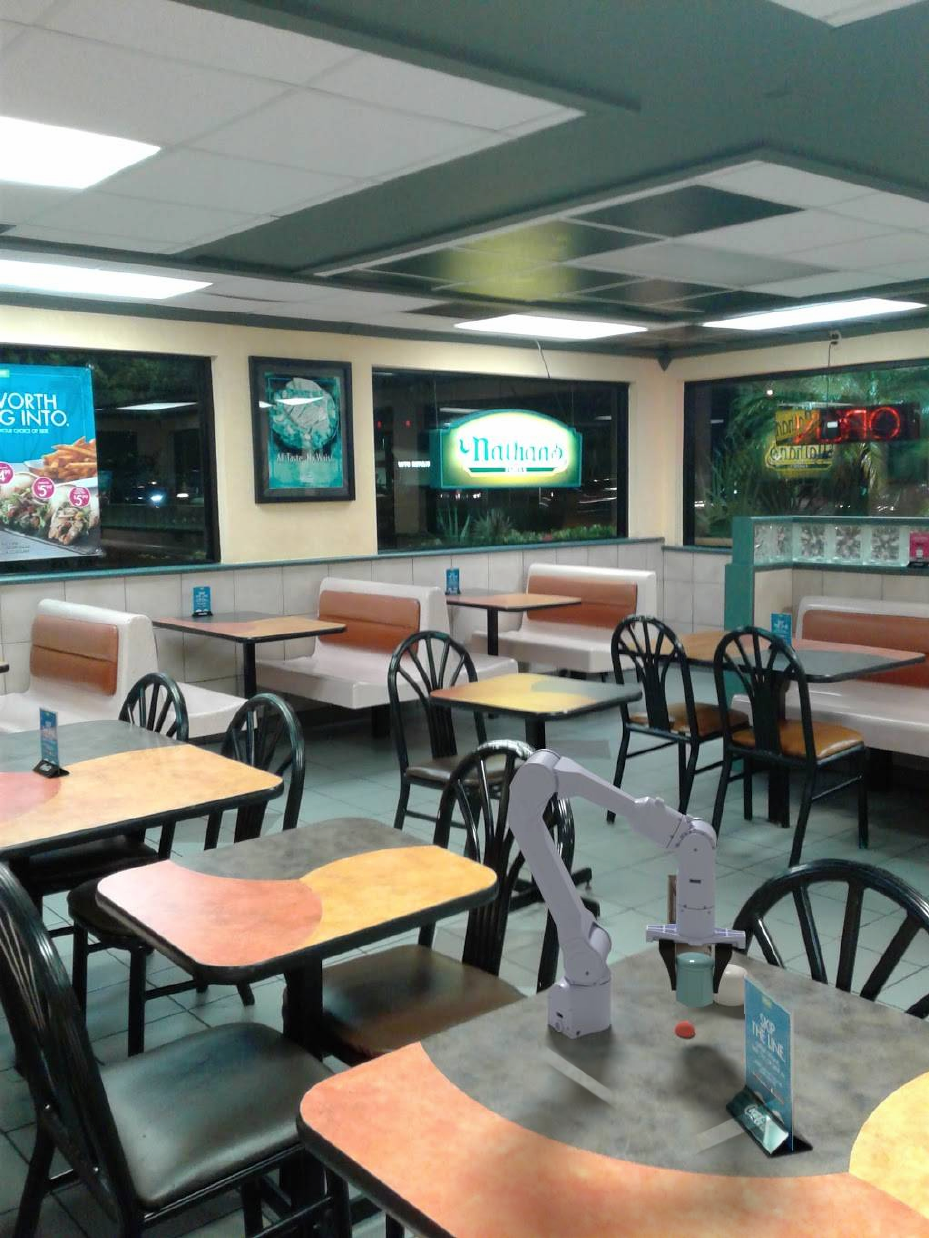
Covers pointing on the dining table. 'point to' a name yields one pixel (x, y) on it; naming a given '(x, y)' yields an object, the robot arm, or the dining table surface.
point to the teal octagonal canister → (694, 979)
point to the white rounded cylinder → (731, 986)
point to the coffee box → (671, 919)
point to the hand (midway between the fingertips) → (694, 989)
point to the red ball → (684, 1029)
